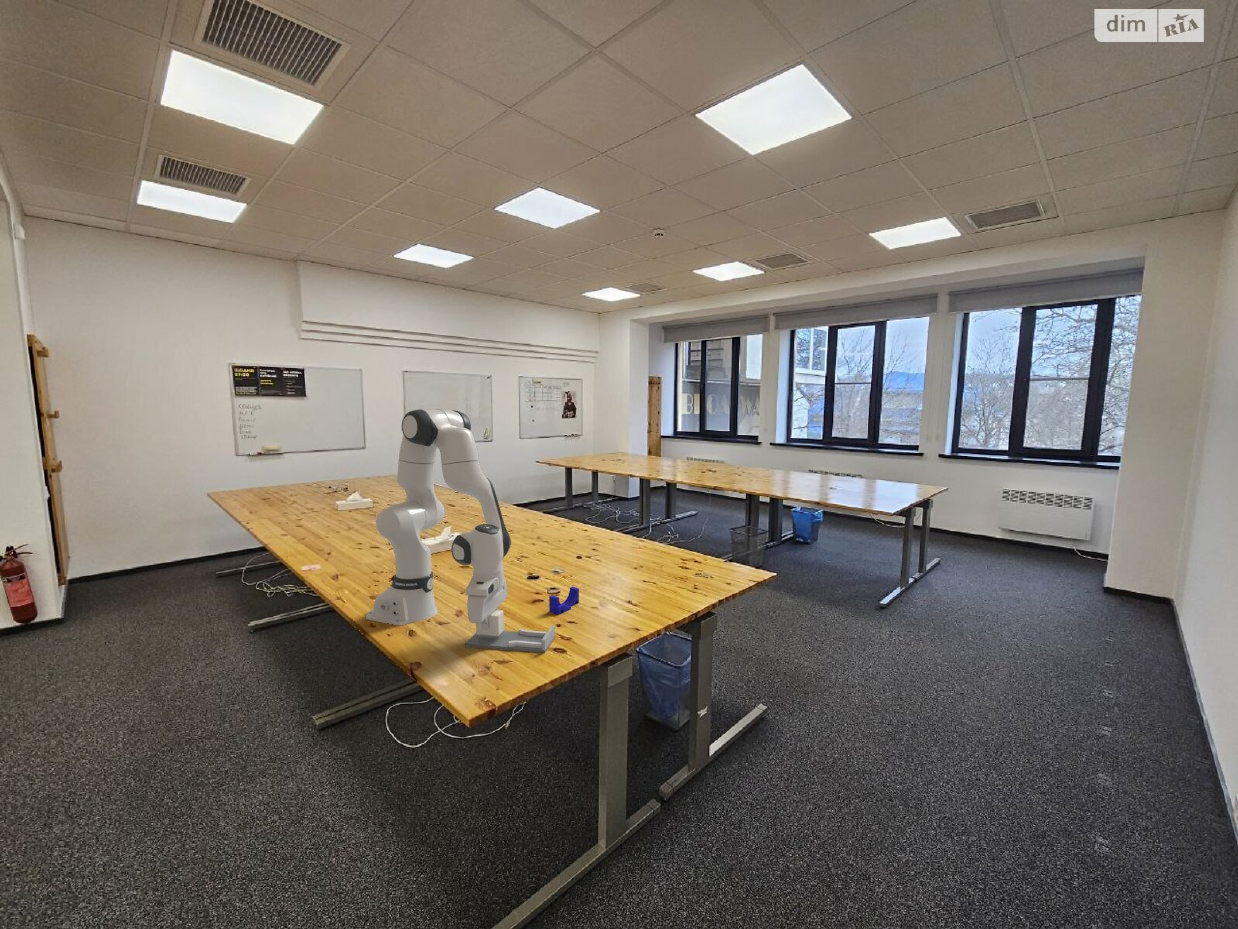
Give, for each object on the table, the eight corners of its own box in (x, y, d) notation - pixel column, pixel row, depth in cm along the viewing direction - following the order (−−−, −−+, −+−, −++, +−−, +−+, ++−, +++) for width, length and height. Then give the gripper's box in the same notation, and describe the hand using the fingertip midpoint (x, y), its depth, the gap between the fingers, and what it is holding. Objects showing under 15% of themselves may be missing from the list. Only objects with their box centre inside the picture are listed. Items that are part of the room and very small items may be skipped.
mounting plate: (465, 647, 145) (465, 633, 145) (480, 632, 155) (480, 619, 155) (545, 654, 141) (544, 640, 141) (555, 638, 151) (555, 625, 151)
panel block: (476, 634, 148) (475, 614, 147) (481, 628, 152) (481, 609, 151) (498, 635, 147) (498, 616, 146) (503, 629, 151) (503, 610, 150)
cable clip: (559, 616, 168) (559, 599, 168) (549, 613, 171) (549, 596, 170) (582, 605, 178) (582, 589, 177) (572, 602, 180) (572, 586, 180)
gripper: (492, 568, 158) (493, 610, 160) (462, 591, 138) (464, 639, 140) (511, 569, 157) (512, 612, 159) (484, 592, 137) (485, 641, 139)
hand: (489, 625), depth 149 cm, fingers closed on panel block, 4 cm apart
